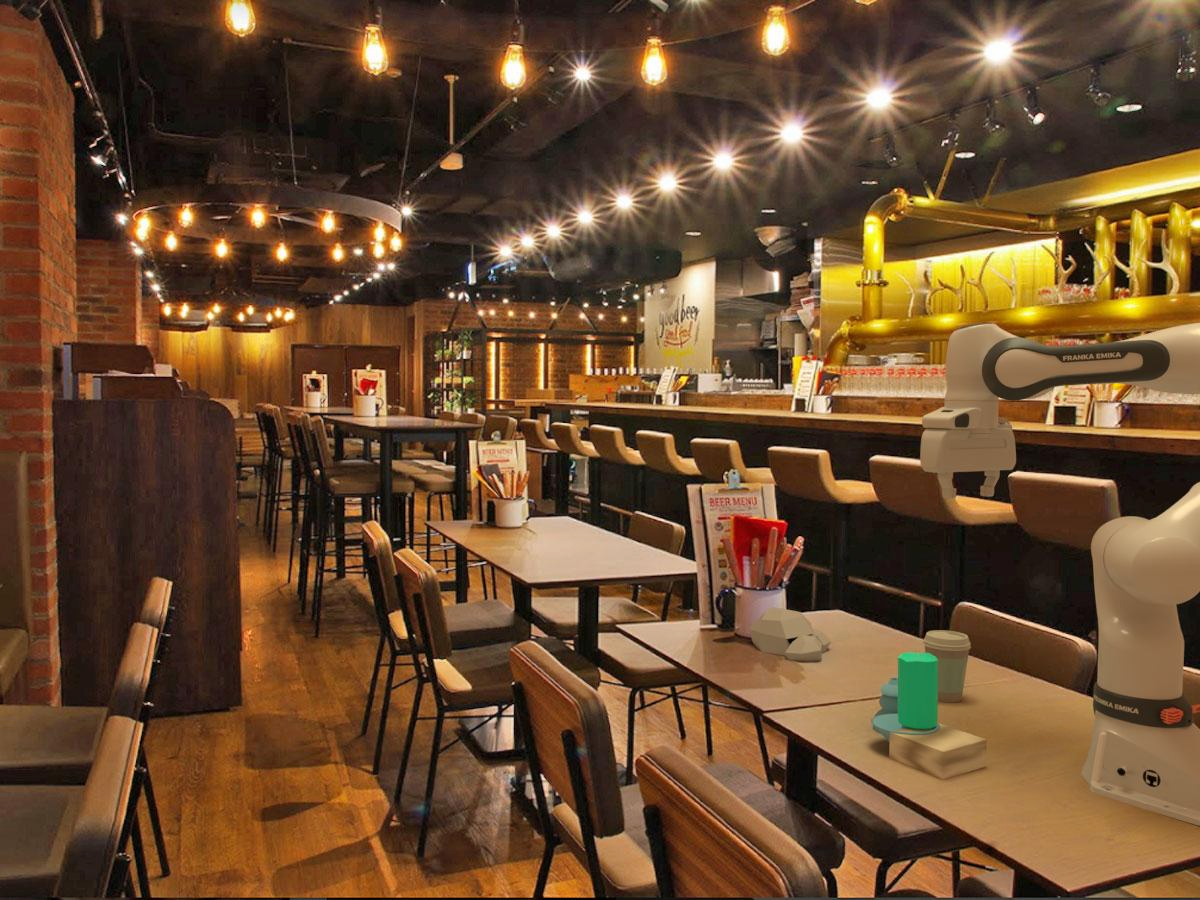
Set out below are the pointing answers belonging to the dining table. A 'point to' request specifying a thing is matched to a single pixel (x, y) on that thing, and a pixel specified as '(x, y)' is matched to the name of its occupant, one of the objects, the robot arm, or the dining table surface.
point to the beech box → (939, 751)
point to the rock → (788, 635)
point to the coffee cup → (949, 661)
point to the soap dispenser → (891, 712)
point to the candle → (917, 690)
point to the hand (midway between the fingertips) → (968, 497)
